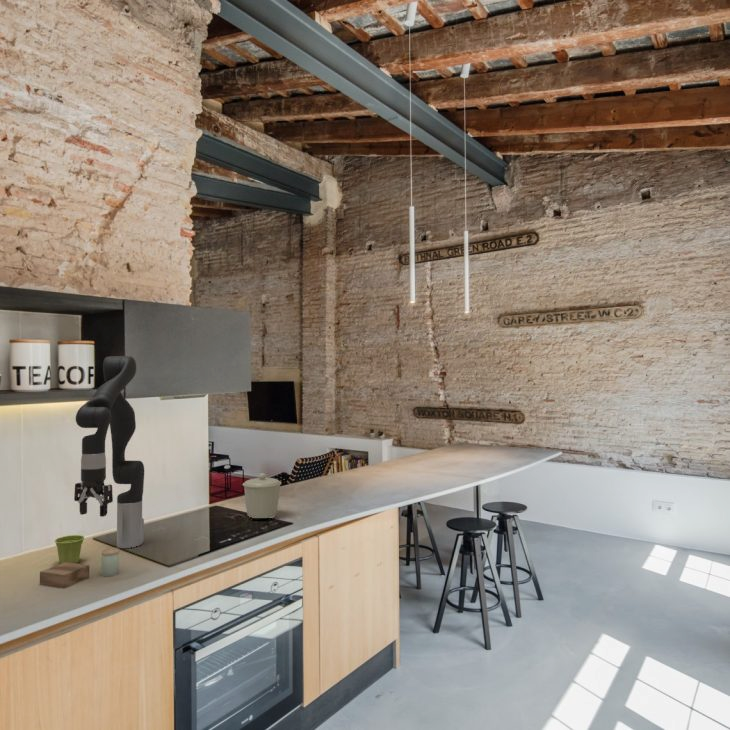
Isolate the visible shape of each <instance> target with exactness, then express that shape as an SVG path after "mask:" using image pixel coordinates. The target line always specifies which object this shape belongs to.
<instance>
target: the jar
mask: <svg viewBox="0 0 730 730" xmlns="http://www.w3.org/2000/svg"><path fill="white" fill-rule="evenodd" d="M119 564H120V548H118V547H109V548H105V549H102V550H101V576H102V577H112V576H116V575H118V574H119V573H120V569H119V568H120V565H119Z"/></svg>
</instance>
